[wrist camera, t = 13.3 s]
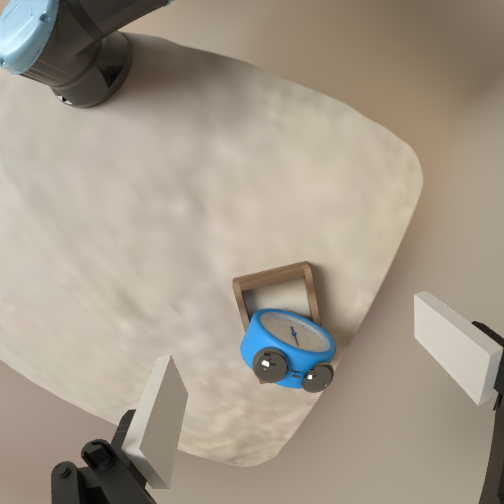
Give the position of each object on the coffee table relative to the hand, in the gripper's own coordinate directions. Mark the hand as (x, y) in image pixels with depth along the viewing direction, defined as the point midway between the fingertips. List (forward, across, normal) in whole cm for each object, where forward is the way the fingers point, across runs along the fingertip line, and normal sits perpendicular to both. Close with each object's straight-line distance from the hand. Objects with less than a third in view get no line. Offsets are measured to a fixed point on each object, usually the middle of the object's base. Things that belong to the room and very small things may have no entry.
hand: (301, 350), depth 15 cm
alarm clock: (+33, 0, -16) cm, 37 cm away
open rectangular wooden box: (+35, 0, -16) cm, 38 cm away
